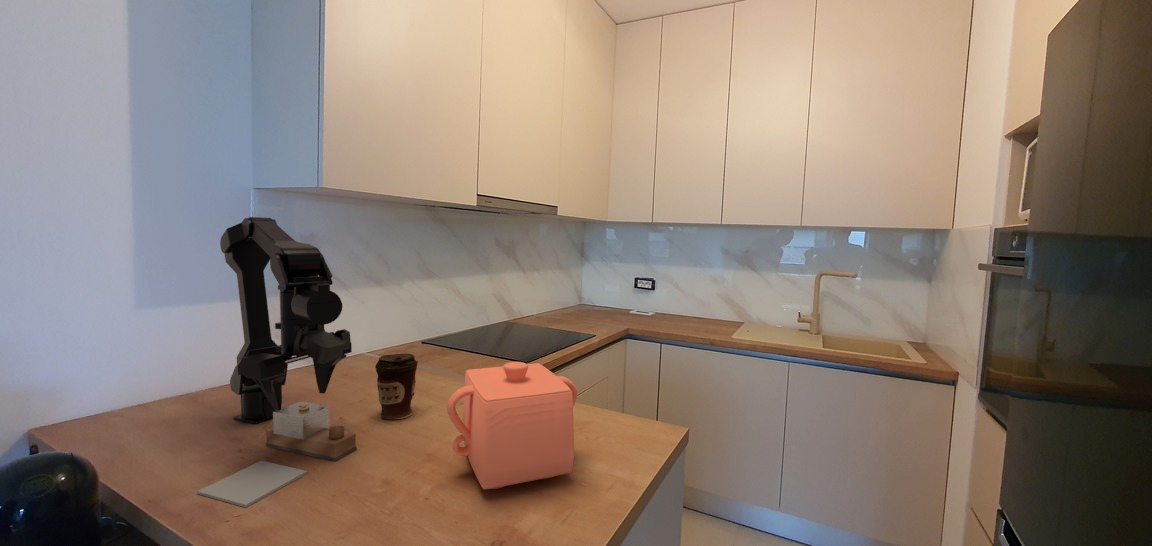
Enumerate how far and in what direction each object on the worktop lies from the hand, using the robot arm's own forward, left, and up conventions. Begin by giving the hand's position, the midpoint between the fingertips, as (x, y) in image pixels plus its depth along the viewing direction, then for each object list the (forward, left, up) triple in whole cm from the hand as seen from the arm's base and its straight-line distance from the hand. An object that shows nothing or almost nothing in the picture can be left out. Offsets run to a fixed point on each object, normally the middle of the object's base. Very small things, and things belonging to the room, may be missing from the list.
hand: (301, 401), depth 83 cm
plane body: (+2, 0, -8) cm, 9 cm away
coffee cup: (+6, +18, -9) cm, 21 cm away
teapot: (+37, +10, -9) cm, 39 cm away
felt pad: (+4, -12, -8) cm, 15 cm away
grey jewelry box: (0, 0, -5) cm, 5 cm away
